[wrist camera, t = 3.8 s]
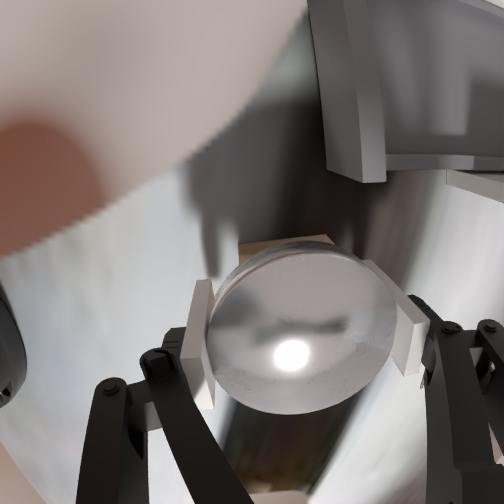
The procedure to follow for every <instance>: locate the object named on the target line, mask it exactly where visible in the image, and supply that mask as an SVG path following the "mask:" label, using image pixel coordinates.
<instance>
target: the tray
mask: <svg viewBox="0 0 504 504" xmlns="http://www.w3.org/2000/svg"><path fill="white" fill-rule="evenodd" d="M307 3H308V9H309V15H310V21H311V27H312V34H313V40H314V47H315V55H316V62H317V70H318V78H319V86H320V95H321V105H322V115H323V126H324V137H325V150H326V164H327V170H330V171H333V172H335V173H338V174H341V175H343V176H346V177H349V178H351V179H354V180H357V181H359V182H362V183H371V182H386V171H388V170H432V169H462V170H504V10H503V9H501V8H499V7H497V6H494V5H492V4H490V3H488V2H485V1H483V0H307Z"/></svg>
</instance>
